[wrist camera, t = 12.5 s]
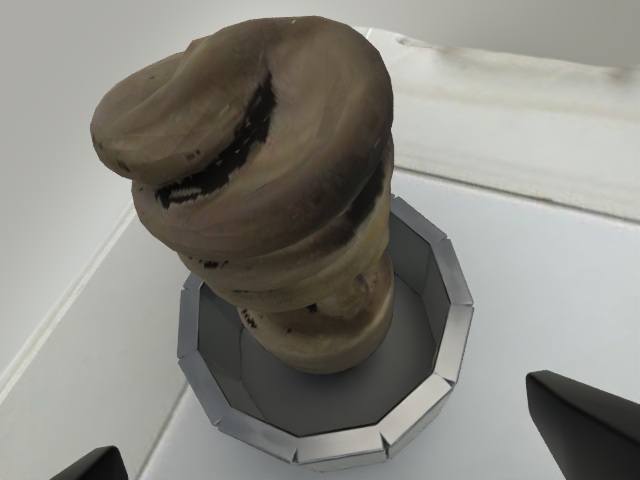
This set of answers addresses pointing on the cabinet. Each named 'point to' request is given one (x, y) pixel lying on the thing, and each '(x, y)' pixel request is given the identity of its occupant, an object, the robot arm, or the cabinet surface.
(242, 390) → the faceted gray ring
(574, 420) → the robot arm
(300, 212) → the light bulb
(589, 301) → the cabinet surface
